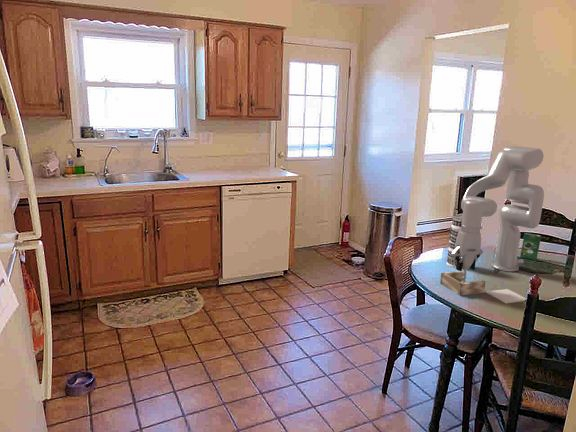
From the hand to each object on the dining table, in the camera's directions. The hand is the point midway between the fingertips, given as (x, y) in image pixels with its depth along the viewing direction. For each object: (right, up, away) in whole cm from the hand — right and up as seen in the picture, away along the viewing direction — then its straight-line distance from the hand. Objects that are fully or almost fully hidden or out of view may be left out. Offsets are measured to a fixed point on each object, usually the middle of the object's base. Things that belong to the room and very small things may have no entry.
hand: (465, 269), depth 193 cm
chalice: (0, -9, +2) cm, 9 cm away
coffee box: (+51, 0, +45) cm, 68 cm away
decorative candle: (+7, -2, +31) cm, 32 cm away
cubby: (0, -8, +2) cm, 9 cm away
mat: (+15, -11, -6) cm, 19 cm away
